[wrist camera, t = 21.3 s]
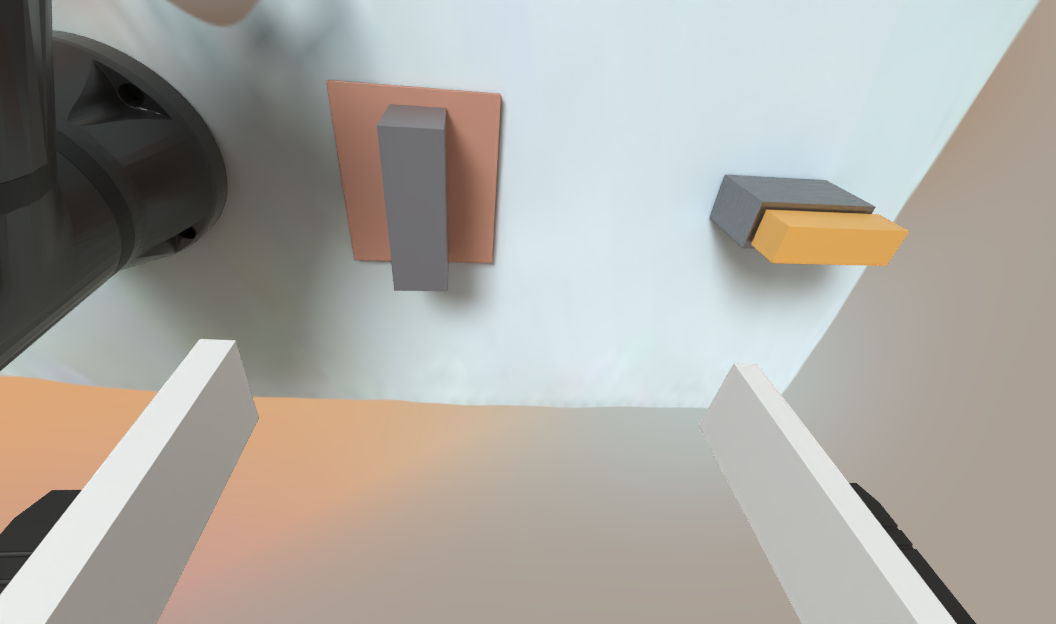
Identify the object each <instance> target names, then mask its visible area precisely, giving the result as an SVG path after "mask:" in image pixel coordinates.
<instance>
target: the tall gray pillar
mask: <svg viewBox="0 0 1056 624" xmlns="http://www.w3.org/2000/svg"><path fill="white" fill-rule="evenodd" d="M377 133H378V142H379V151H380V161H381V170H382V179H383V189H384V198H385V207H386V216H387V226H388V235H389V244H390V254H391V263H392V272H393V281H394V291H448V268H449V217H448V164H447V111H446V108H439V107H425V106H410V105H395V104H389V106H388V108H387V109H386V111H385V113H384V114H383V116H382V117H381V119H380V121H379V122H378V124H377Z"/></svg>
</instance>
